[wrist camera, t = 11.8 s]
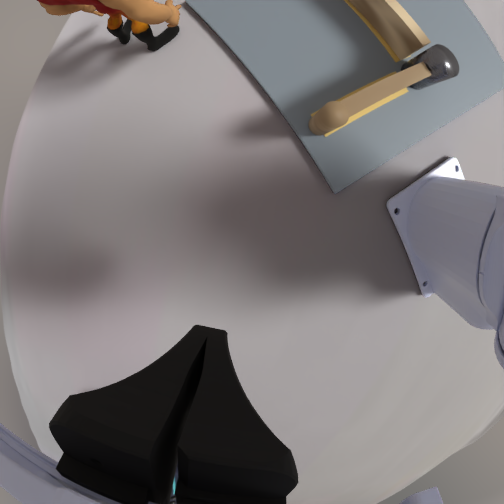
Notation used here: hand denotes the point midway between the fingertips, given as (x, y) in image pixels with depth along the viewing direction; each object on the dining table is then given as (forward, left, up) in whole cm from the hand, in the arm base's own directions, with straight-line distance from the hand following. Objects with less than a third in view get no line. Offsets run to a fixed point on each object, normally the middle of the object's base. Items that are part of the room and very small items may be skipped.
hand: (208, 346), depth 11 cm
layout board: (+10, -22, -9) cm, 26 cm away
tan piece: (+13, -20, -9) cm, 25 cm away
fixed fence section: (+5, -14, -9) cm, 17 cm away
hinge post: (+5, -20, -9) cm, 23 cm away
